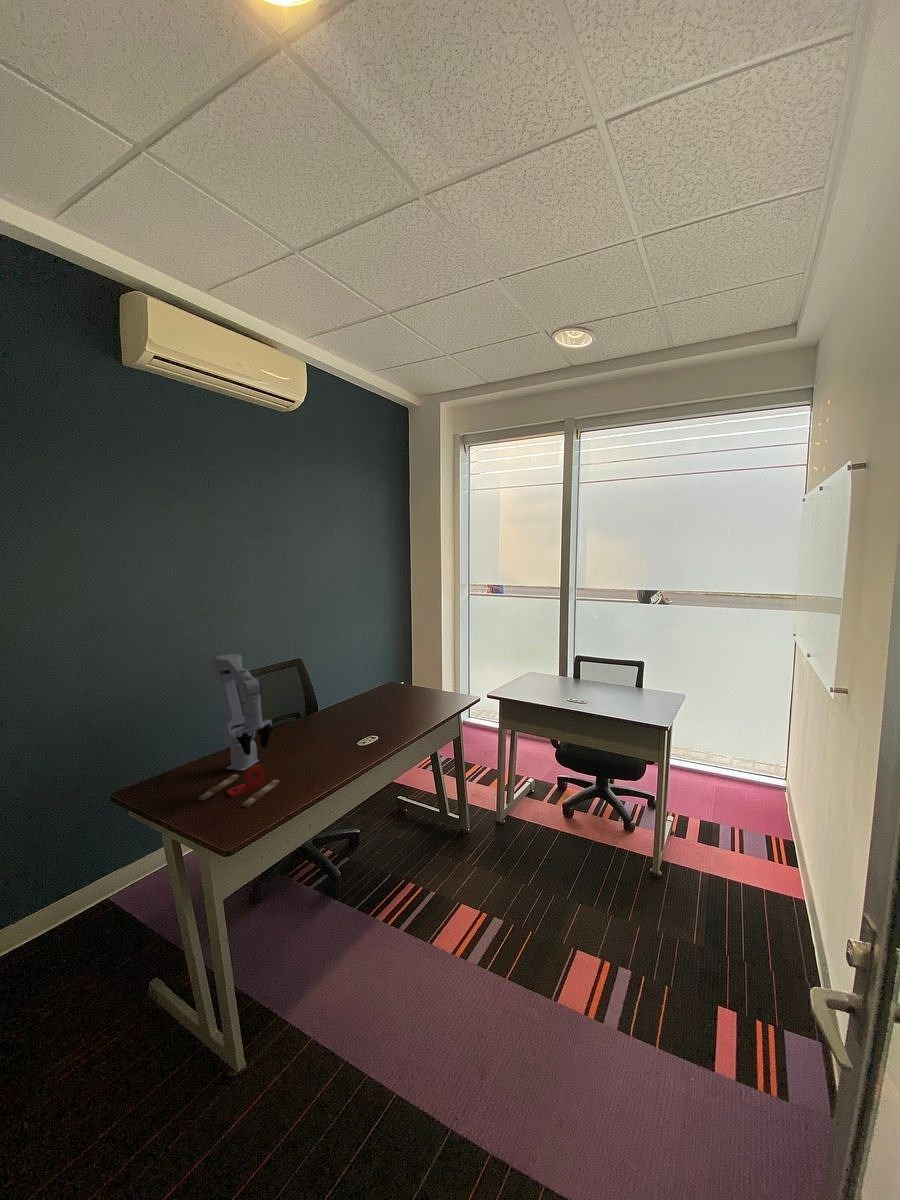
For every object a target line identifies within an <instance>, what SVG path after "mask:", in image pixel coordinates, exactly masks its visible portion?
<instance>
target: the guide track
mask: <svg viewBox="0 0 900 1200" xmlns="http://www.w3.org/2000/svg"><path fill="white" fill-rule="evenodd" d="M239 778H240V775H239V774H235V773H234V774H232V775H231V776H229V777H228V778H226V779H225V780H223V781H221V782H220V783H218V784H217V785H215V786H212V787H210V788H209V789H207V791H206V792H204V793H203V794H201V795H199V796H198V799H199V801H206V800H207V799H208V798H210V797H212V796H213V795H215V794H217V793H218V792H220V791H221V790H223V789H224V788H225V787H227V786H228V785H230V784H232V783H233V782H234V781H235V780H237V779H239ZM278 784H280V779H273V780H272V781H271V782H269V783H268V784H265V786H264V787H262V788H261V789H260V790H259V791H257V792H254V793H253V794H251V795H250V796H249V798H247V799H246V800H245V801H244V802H243V803H241V804H242V807H243V808H249V807H250V806H251V805H253V804H254V803H255V802H257V801H258V800H260V798H262V797H263V796H264V795H266V794H267V793H268V792H269V791H271V790H272V789H273V788H275V787H276V786H277V785H278Z"/></svg>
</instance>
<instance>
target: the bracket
mask: <svg viewBox="0 0 900 1200" xmlns="http://www.w3.org/2000/svg"><path fill="white" fill-rule="evenodd" d="M256 772H257V775H256V777H254V778H253V774H254V773H256ZM264 785H266V774H265V768H264V767H262V766H261V765H258V764H254V765H252V766H251V767H249V768H247V769H246V772H245V774H244V783H242V784H239V785H237V786H234V787H232V788H229V789H227V791H226V794H227V795H228V796H229V797H231V798H235V797H237V796H240V795H242V794H245V793H247V792H249V791H252V790H255V789H257V788H259V787H262V786H264Z"/></svg>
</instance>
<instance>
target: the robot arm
mask: <svg viewBox="0 0 900 1200" xmlns="http://www.w3.org/2000/svg"><path fill="white" fill-rule="evenodd" d="M211 662H212V663H211V664H212V666H211V667H212V670H213V674H214V677H215V679H216V680H218V681H220V684H221V686H222V687H221V688H222V691H223V695H224V699H225V704H226V708H227V712H228V717H229V721H228V722H227V723H226V724H225V726H224V728H223V732H224V741H225V744H226V745H227V746H228V747H230V748H229V749H230V763H231V764H230V765H228V766H227V767H225V769H226V770H233V771H239V772H240V771H241V772H245V771H247V770H248V769H249V768H250V767H252V766H254V765H256V763H258V762H259V761H260V759H258V751H257V749H258V747H257V744H256V742H255V740H254V739H255V737H256V731H258V734H259V738H260V745H261V748H264V749H265V748H268V745H269V738H270V735H271V733H272V731H273V726H272V725H273V722H272V721H273V720H272V719H266V720H263V713H262V706H261V705H262V704H261V702H262V701H261V694H262V692H263V685H262V681H261V679H260V678H256V677H253V675H252V674H251V672H250V671H249V670H248V669H245V668H243V657H242V655H241V654H240V653H239V652H236V653H229V654H222V655H215V656H213V658H212V661H211ZM237 686H238V687H239V694H240V697H241V701H240V698H239V694H238V689H237ZM241 702H242V703H243V710H242V707H241ZM243 713H244V714H243Z"/></svg>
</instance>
